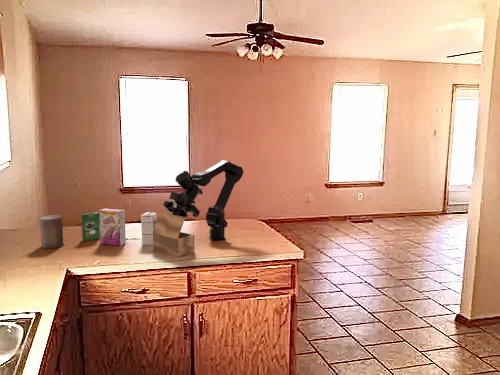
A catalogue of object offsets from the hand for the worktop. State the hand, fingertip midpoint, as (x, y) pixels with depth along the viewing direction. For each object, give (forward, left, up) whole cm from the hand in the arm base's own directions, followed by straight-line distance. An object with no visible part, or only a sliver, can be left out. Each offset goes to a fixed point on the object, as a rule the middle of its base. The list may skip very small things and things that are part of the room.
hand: (171, 223), depth 217 cm
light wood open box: (-1, 0, -13) cm, 13 cm away
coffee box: (+29, -38, -13) cm, 49 cm away
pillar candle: (+47, -34, -13) cm, 59 cm away
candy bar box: (+21, -25, -13) cm, 35 cm away
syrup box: (+5, -19, -13) cm, 24 cm away
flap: (+1, +1, 0) cm, 2 cm away
